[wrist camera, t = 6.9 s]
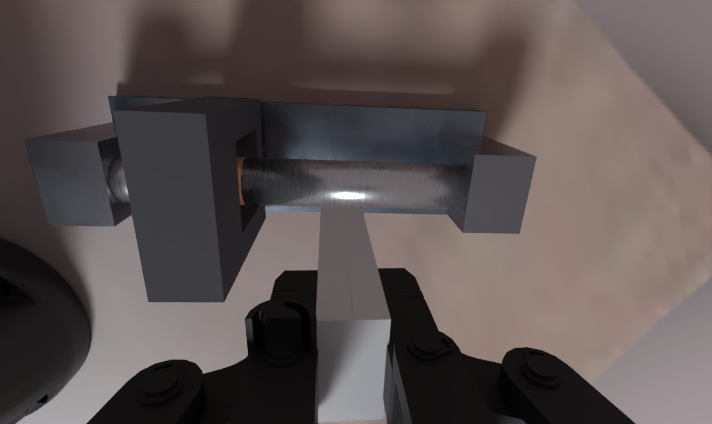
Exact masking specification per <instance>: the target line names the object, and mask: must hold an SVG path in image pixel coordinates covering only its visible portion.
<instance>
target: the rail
mask: <svg viewBox="0 0 712 424" xmlns="http://www.w3.org/2000/svg"><path fill="white" fill-rule="evenodd" d="M108 98H109V103H110V109H111V114H112V119H113V122H112V123H106V124H101V125H96V126H91V127H86V128H81V129H76V130H71V131H66V132H61V133H56V134H50V135H45V136H40V137H35V138H30V139H25V144H26V147H27V151H28V155H29V158H30V162H31V165H32V169H33V173H34V176H35V180H36V183H37V187H38V191H39V194H40V198H41V201H42V205H43V209H44V212H45V216H46V219H47V223H48V225H69V226H116V225H117V224H119V223H120V222H122V221H123V220H125V219H126V218H128V217H129V216H131V215H132V212H131V206H130V201H129V195H128V190H127V185H126V179H125V174H124V169H123V163H122V158H121V153H120V147H119V142H118V137H117V131H116V126H115V121H114V115H113V110H118V109H125V108H132V107H139V106H146V105H153V104H160V103H167V102H174V101H181V100H188V99H185V98H161V97H137V96H108ZM260 107H261V128H262V149H263V158H250V157H237V169H238V183H239V197H240V205H265V211H308V212H321V208H362V212H363V213H401V214H448V216H449V217H450V218H451V219H452V220H453V222H454V223H455V224H456V225H457V226H458V228H459V229H460V230H461V231H462V232H463V233H514V234H520V229H521V225H522V220H523V216H524V211H525V207H526V202H527V198H528V193H529V189H530V184H531V180H532V175H533V171H534V166H535V162H536V156H533V155H531V154H528V153H526V152H523V151H520V150H518V149H515V148H513V147H510V146H507V145H505V144H502V143H500V142H497V141H494V140H492V139H489V138H487V137H484V136H483V131H484V125H485V119H486V113H487V112H484V111H469V110H446V109H422V108H398V107H375V106H351V105H327V104H303V103H280V102H260Z"/></svg>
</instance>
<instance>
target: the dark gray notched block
mask: <svg viewBox="0 0 712 424" xmlns="http://www.w3.org/2000/svg"><path fill="white" fill-rule="evenodd" d="M113 115H114V121H115V126H116V131H117V137H118V142H119V147H120V153H121V158H122V163H123V169H124V174H125V179H126V185H127V190H128V195H129V201H130V206H131V212H132V217H133V222H134V228H135V233H136V238H137V244H138V249H139V254H140V260H141V265H142V270H143V276H144V281H145V286H146V292H147V297H148V302H224V301H225V299H226V297H227V295H228V293H229V291H230V289H231V287H232V285H233V283H234V281H235V279H236V277H237V275H238V273H239V271H240V269H241V267H242V265H243V263H244V261H245V259H246V257H247V255H248V253H249V251H250V249H251V247H252V245H253V243H254V241H255V239H256V237H257V235H258V233H259V230H260V228H261V226H262V224H263V222H264V220H265V218H266V213H265V205H240V197H239V183H238V169H237V157H250V158H263V149H262V128H261V107H260V99H249V98H225V97H202V98H195V99H188V100H181V101H174V102H167V103H160V104H153V105H146V106H139V107H132V108H125V109H118V110H113Z"/></svg>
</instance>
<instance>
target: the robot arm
mask: <svg viewBox="0 0 712 424" xmlns="http://www.w3.org/2000/svg"><path fill="white" fill-rule="evenodd" d="M245 325H246V336H247V347H248V356H247V357H246V358H245V359H244V360H242V361H240V362H238V363H236V364H234V365H232V366H229V367H226V368H223V369H220V370H216V371H212V372H209V373H205V374H203V373H202V370H201V369H200V368H199V367H198V365H197V364H196V363H193V362H190V361H187V360H168V361H164V362H160V363H156V364H154V365H152V366H150V367H148V368H146V369H144V370H142V371H140V372H139V373H137V374H136V375H135V376H134V377H132V378H131V379H130V380H129V381H127V382H126V383H125V385H124V386H123V387H122V388H121V389H120V390H119V391H118V392H117V393H116V394H115V395H114V396H113V397H112V398H111V399H110V400H109V401H108V402H107V403H106V404H105V405H104V406H103V407H102V408H101V409H100V410H99V411H98V412H97V413H96V415H95V416H94V417H93V418H92V419H91V420H90V421H89V422H88V423H87V424H318V422H336V421H359V420H381V419H383V414H384V406H385V412H386V418H387V423H388V424H635V423H634V422H633V421H632V420H631V419H630V418H628V417H627V416H626V415H625V414H624V413H623V412H621V411H620V410H619V409H618V408H617V407H615V406H614V405H613V404H612V403H611V402H610V401H609V400H607V398H605V397H604V396H603V395H602V394H601V393H600V392H598V391H597V390H596V389H595V388H594V387H593V386H591V385H590V384H589V383H588V382H587V381H586V380H585V379H583V378H582V377H581V376H580V375H579V374H578V373H576V372H575V371H574V370H573V369H572V368H571V367H570V366H568V365H567V364H566V363H564V362H563V361H561V360H560V359H558V358H557V357H556V356H554V355H551V354H549V353H547V352H544V351H542V350H538V349H533V348H528V347H525V348H514V349H512V350H510V351H508V352H507V353H506V354H505V356H504V358H503V360H502V364H501V363H496V362H491V361H487V360H482V359H477V358H474V357H470V356H467V355H465V354H463V353H461V351H460V349H459V348H458V346H457V345H456V344H455V342H454V341H453V340H452V339H451V338H450V337H448V336H447V335H445V334H444V333H442V332H439V330H438V328H437V326H436V324H435V321H434V319H433V317H432V314H431V312H430V310H429V308H428V305H427V303H426V301H425V299H424V296H423V294H422V292H421V290H420V287H419V285H418V283H417V280H416V278H415V277H414V276H413V275H412V274H411V273H409V272H408V271H407V270H406V269H405V268H377V265H376V261H375V257H374V253H373V249H372V246H371V242H370V238H369V234H368V231H367V227H366V223H365V219H364V215H363V212H362V208H321V219H320V240H319V261H318V270H302V271H284V272H283V273H282V274H281V275H280V276H279V277H278V278H277V279H276V280H275V283H274V287H273V291H272V295H271V299H270V300H269V301H266V302H263V303H260V304H259V305H257V306H256V307H255V308H253V309H252V310H250V312H249V313H248V315H247V316H246V318H245ZM89 344H90V332H89V325H88V321H87V318H86V314H85V312H84V310H83V307H82V305H81V303H80V302H79V300H78V298H77V297H76V295H75V294H74V292H73V291H72V289H71V288H70V287H69V286H68V284H67V283H66V282H65V281H64V280H63V279H62V278H61V277H60V276H59V275H58V274H57V273H56V272H55V271H54V270H53V269H51V268H50V267H49V266H48V265H47V264H45V263H44V262H43V261H41V260H40V259H38V258H37V257H35V256H34V255H32V254H31V253H29V252H27V251H26V250H24V249H22V248H20V247H18V246H16V245H14V244H12V243H10V242H7V241H5V240H2V239H0V424H16V423H17V422H18V421H20V420H21V419H22V418H23V417H25V416H27V415H29V414H31V413H33V412H35V411H36V410H38V409H39V408H41V407H42V406H44V405H45V404H47V403H48V402H49V401H51V400H52V399H53V398H54V397H55V396H56V395H57V394H58V393H59V392H60V391H61V390H62V389H63V388H64V387H65V386H66V384H67V383H68V382H69V381H70V380H71V379H72V378H73V376H74V375H75V374H76V373H77V372H78V371H79V369H80V368H81V366H82V365H83V363H84V361H85V359H86V357H87V354H88V350H89Z"/></svg>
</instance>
